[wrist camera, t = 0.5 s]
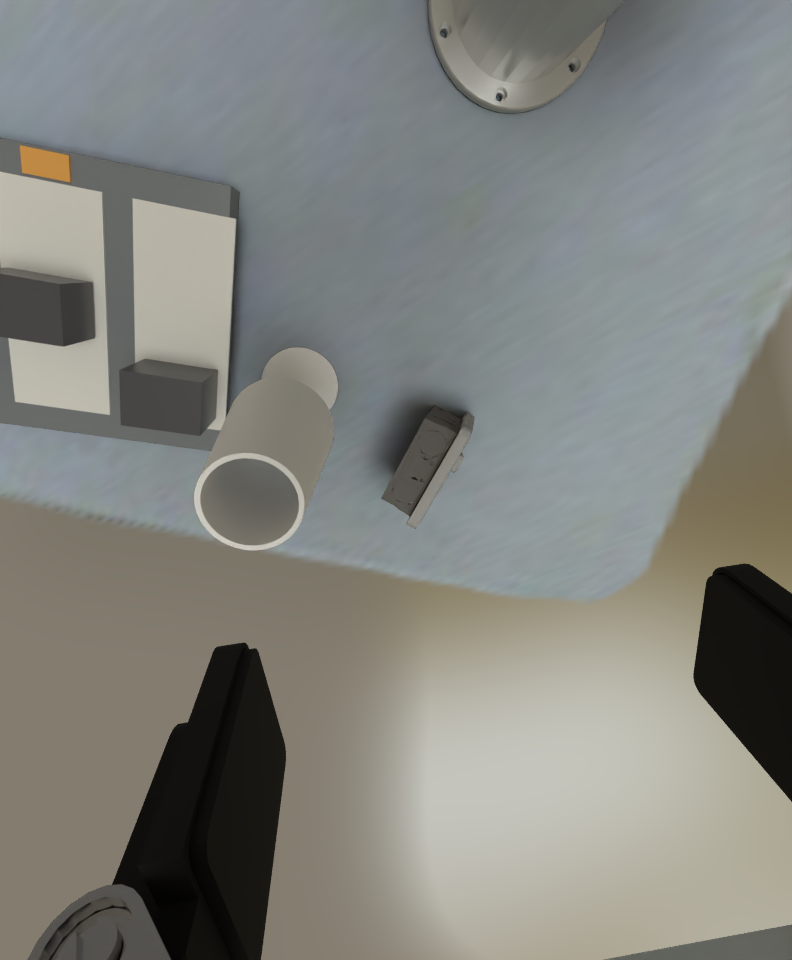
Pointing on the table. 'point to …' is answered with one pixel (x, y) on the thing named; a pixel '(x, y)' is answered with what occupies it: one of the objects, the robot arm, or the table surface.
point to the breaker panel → (122, 297)
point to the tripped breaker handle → (45, 308)
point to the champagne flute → (269, 453)
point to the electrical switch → (428, 463)
